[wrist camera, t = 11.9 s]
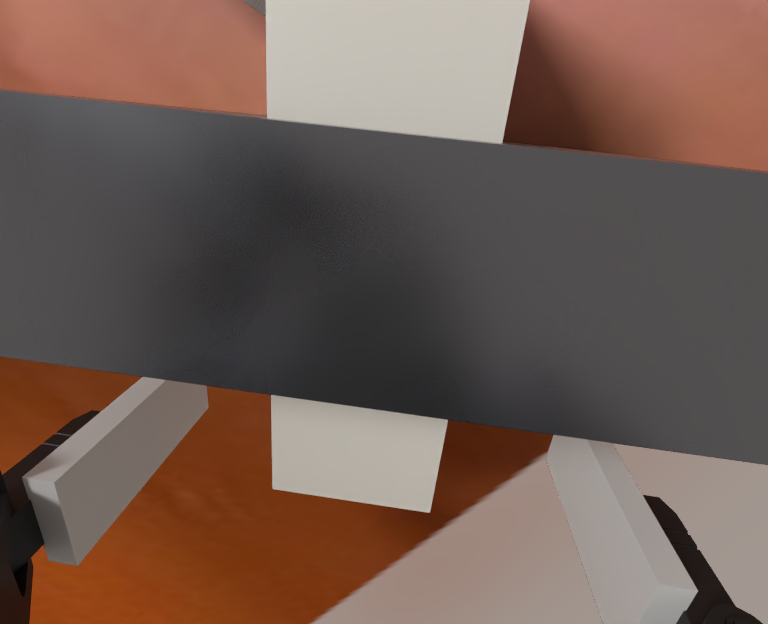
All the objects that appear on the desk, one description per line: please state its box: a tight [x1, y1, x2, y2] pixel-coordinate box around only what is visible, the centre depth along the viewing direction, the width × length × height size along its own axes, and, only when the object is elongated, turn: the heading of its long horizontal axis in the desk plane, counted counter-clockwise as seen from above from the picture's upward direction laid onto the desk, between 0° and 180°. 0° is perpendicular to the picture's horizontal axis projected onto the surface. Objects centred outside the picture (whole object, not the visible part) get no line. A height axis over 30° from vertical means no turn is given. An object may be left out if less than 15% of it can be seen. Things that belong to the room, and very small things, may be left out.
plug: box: [266, 0, 530, 513], centre depth 14 cm, size 5×18×8 cm, turn 174°
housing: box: [0, 89, 768, 465], centre depth 12 cm, size 14×4×12 cm, turn 84°
